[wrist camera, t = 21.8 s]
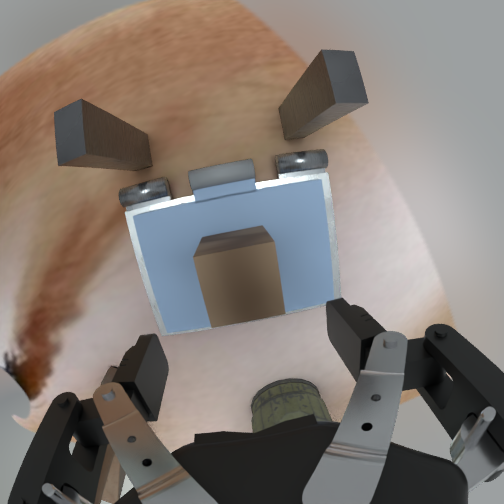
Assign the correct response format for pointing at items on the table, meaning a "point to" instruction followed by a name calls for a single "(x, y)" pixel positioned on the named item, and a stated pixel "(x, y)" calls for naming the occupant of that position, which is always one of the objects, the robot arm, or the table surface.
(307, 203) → the pale blue flat slab
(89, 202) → the table surface
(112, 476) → the wooden block
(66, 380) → the table surface
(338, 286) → the base leaf
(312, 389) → the thermos
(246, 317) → the block
